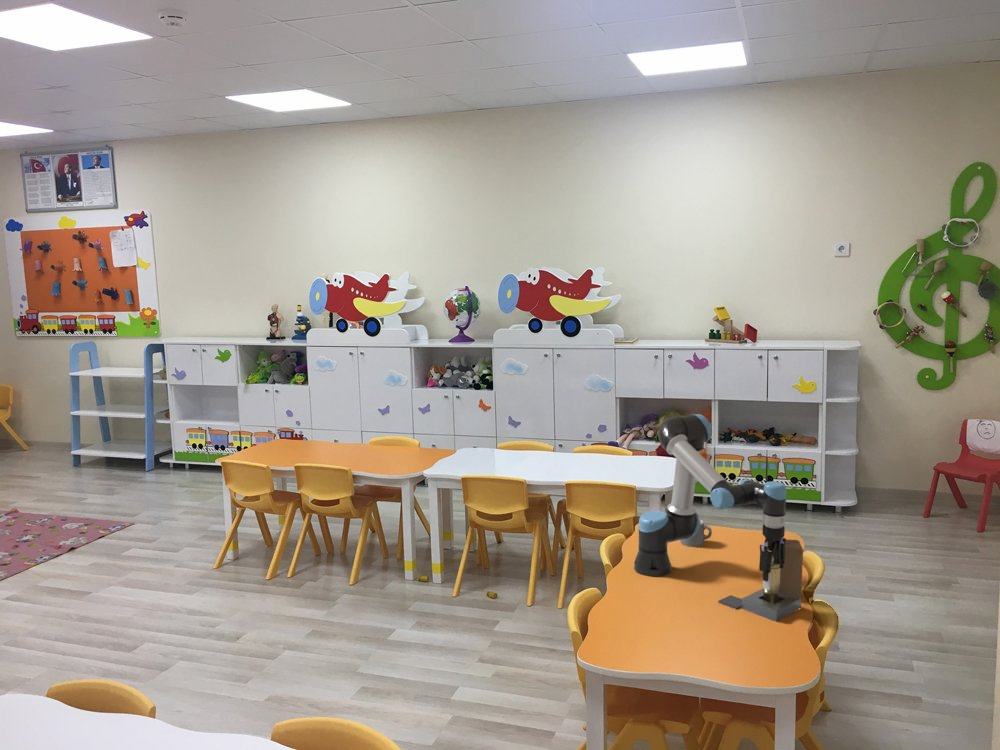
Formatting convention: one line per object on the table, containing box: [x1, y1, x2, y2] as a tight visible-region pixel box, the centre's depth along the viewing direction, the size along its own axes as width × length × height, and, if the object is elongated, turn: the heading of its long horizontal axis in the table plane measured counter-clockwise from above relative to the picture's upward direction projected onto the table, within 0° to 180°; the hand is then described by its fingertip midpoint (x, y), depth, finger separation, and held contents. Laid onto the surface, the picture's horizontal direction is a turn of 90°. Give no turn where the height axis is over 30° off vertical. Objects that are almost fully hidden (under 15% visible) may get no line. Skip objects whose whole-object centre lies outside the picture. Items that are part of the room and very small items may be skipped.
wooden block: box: [772, 539, 804, 599], centre depth 308 cm, size 10×10×20 cm
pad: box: [717, 594, 742, 610], centre depth 302 cm, size 8×8×1 cm
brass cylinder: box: [762, 561, 780, 604], centre depth 295 cm, size 5×5×14 cm
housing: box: [741, 588, 802, 623], centre depth 296 cm, size 14×16×4 cm
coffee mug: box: [680, 519, 713, 548], centre depth 364 cm, size 13×10×10 cm
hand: (771, 586), depth 296 cm, fingers closed on brass cylinder, 5 cm apart
